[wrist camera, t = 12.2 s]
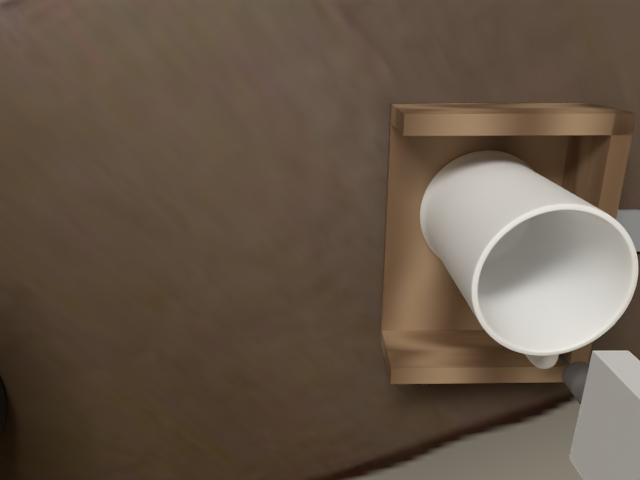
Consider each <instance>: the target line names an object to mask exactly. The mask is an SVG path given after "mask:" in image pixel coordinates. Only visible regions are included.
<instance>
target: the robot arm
mask: <svg viewBox="0 0 640 480" xmlns="http://www.w3.org/2000/svg"><path fill="white" fill-rule="evenodd" d="M6 412H7V405H6V397H5V392H4V389H3V385H2V383H1V380H0V435H1V433H2V430H3V428H4V425H5V420H6ZM569 459H570V461H571V462H572V464H573V465H574V467H575V468H576V470H577V471H578V473H579V474H580V476H581V477H582V479H583V480H640V361H639V360H638V359H637V358H636V357H635V356H634V355H633V354H632V353H630V352H629V351H592V356H591V360H590V365H589V369H588V374H587V378H586V383H585V387H584V392H583V397H582V401H581V406H580V410H579V415H578V420H577V424H576V428H575V433H574V438H573V442H572V447H571V451H570V456H569Z"/></svg>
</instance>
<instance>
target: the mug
mask: <svg viewBox="0 0 640 480" xmlns="http://www.w3.org/2000/svg"><path fill="white" fill-rule="evenodd" d="M420 225H421V230H422V234H423V236H424V239H425V241H426V243H427V244H428V246H429V248H430V249H431V250H432V251H433V253H434V254H435V255H436V256H437V257H439V258H440V259H441V260H442V262H443V264H444V265H445V267H446V269H447V270H448V272H449V274H450V275H451V277H452V279H453V280H454V282H455V283H456V285H457V287H458V288H459V290H460V292H461V293H462V295H463V297H464V298H465V300H466V302H467V303H468V305H469V307H470V308H471V310H472V311H473V313H474V315H475V316H476V318H477V320H478V321H479V323H480V324H481V326H482V327H483V329H484V330H485V331H486V332H487V333H488V334H489V335H490V336H491V337H492V338H493V339H494V340H495V341H497V342H498V343H499V344H501V345H503V346H504V347H506V348H508V349H511V350H513V351H516V352H519V353H523V354H525V355H526V357H527V358H528V360H529V361H530V362H531V363H532V364H533V365H534V366H536V367H538V368H541V369H548V368H551V367H553V366H554V365H555V364H556V362H557V360H558V356H559V354H562V353H567V352H570V351H573V350H576V349H579V348H581V347H583V346H585V345H587V344H589V343H591V342H593V341H594V340H596V339H597V338H599V337H600V336H602V335H603V334H604V333H605V332H607V331H608V330H609V329H610V328H611V327H612V326H613V325H614V324H615V323H616V322H617V321H618V319H619V318H620V317H621V316H622V314H623V313H624V311H625V310H626V308H627V307H628V305H629V303H630V301H631V299H632V296H633V294H634V291H635V288H636V284H637V278H638V258H637V253H636V249H635V246H634V244H633V242H632V239H631V238H630V236H629V234H628V233H627V231H626V230H625V229H624V228H623V226H622V225H621V224H620V223H619V222H618V221H617V220H615V219H614V218H613V217H611V216H610V215H608V214H607V213H605V212H604V211H602V210H600V209H598V208H597V207H595V206H593V205H592V204H590V203H588V202H586V201H585V200H583V199H581V198H579V197H578V196H576V195H574V194H572V193H571V192H569V191H567V190H565V189H564V188H562V187H560V186H558V185H557V184H555V183H553V182H552V181H550V180H548V179H546V178H545V177H543V176H541V175H539V174H538V173H536V172H534V170H533V169H532V168H531V167H530V166H529V165H528V164H527V163H525V162H524V161H523V160H521V159H519V158H518V157H516V156H514V155H511V154H509V153H505V152H501V151H494V150H484V151H476V152H472V153H468V154H466V155H463V156H461V157H458V158H457V159H455V160H453V161H451V162H450V163H448V164H447V165H446V166H445V167H443V168H442V169H441V170H440V171H439V172H438V173H437V174H436V175H435V177H434V178H433V179H432V181H431V182H430V184H429V185H428V187H427V189H426V191H425V193H424V196H423V199H422V203H421V208H420Z"/></svg>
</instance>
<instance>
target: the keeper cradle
mask: <svg viewBox="0 0 640 480" xmlns="http://www.w3.org/2000/svg"><path fill="white" fill-rule="evenodd" d="M635 119H636V113H632V112H627V111H623V110H618V109H614V108H609V107H604V106H600V105H595V104H591V103H390V124H389V147H388V170H387V193H386V217H385V240H384V263H383V286H382V310H381V333H380V342H381V346H382V351H383V355H384V359H385V363H386V367H387V372H388V376H389V380H390V384H446V383H538V382H564V383H565V384H566V386H567V387H568V388H569V390H570V391H571V393H572V394H573V395H574V397H575V398H576V399H577V401H578V402H579V403H580V404H581V401H582V397H583V392H584V387H585V383H586V378H587V374H588V369H589V364H588V362H589V357H590V351H591V346H592V342H591V343H589V344H587V345H585V346H583V347H581V348H579V349H576V350H573V351H570V352H567V353H562V354H559V356H558V360H557V362H556V364H555V365H554V366H553V367H551V368H548V369H541V368H538V367H536V366H534V365H533V364H532V363H531V362H530V361H529V360H528V358H527V357H526V355H525V354H523V353H519V352H516V351H513V350H511V349H508V348H506V347H504V346H503V345H501V344H499V343H498V342H497V341H495V340H494V339H493V338H492V337H491V336H490V335H489V334H488V333H487V332H486V331H485V330H484V329H483V327H482V326H481V324H480V323H479V321H478V320H477V318H476V316H475V315H474V313H473V311H472V310H471V308H470V307H469V305H468V303H467V302H466V300H465V298H464V297H463V295H462V293H461V292H460V290H459V288H458V287H457V285H456V283H455V282H454V280H453V279H452V277H451V275H450V274H449V272H448V270H447V269H446V267H445V265H444V264H443V262H442V260H441V259H440V258H439V257H437V256H436V255H435V254H434V253H433V251H432V250H431V249H430V248H429V246H428V244H427V243H426V241H425V239H424V236H423V234H422V230H421V225H420V208H421V203H422V199H423V196H424V193H425V191H426V189H427V187H428V185H429V184H430V182H431V181H432V179H433V178H434V177H435V175H436V174H437V173H438V172H439V171H440V170H441V169H442V168H443V167H445V166H446V165H447V164H448V163H450V162H451V161H453V160H455V159H457V158H458V157H461V156H463V155H466V154H468V153H472V152H476V151H484V150H494V151H501V152H505V153H509V154H511V155H514V156H516V157H518V158H519V159H521V160H523V161H524V162H525V163H527V164H528V165H529V166H530V167H531V168H532V169H533V170H534V172H536V173H538V174H539V175H541V176H543V177H545V178H546V179H548V180H550V181H552V182H553V183H555V184H557V185H558V186H560V187H562V188H564V189H565V190H567V191H569V192H571V193H572V194H574V195H576V196H578V197H579V198H581V199H583V200H585V201H586V202H588V203H590V204H592V205H593V206H595V207H597V208H598V209H600V210H602V211H604V212H605V213H607V214H608V215H610V216H611V217H613V218H614V219H615V220H616V217H617V212H618V207H619V202H620V197H621V191H622V186H623V181H624V176H625V171H626V166H627V160H628V155H629V150H630V145H631V140H632V135H633V129H634V124H635Z"/></svg>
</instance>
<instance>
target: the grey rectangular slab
mask: <svg viewBox="0 0 640 480" xmlns="http://www.w3.org/2000/svg"><path fill="white" fill-rule="evenodd" d="M616 220H617V221H618V222H619V223H620V224H621V225H622V226H623V228H624V229H625V230H626V231H627V233H628V234H629V236H630V238H631V239H632V242H633V244H634V246H635V249H636V252H637V251H640V210H618V212H617V217H616Z"/></svg>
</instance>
